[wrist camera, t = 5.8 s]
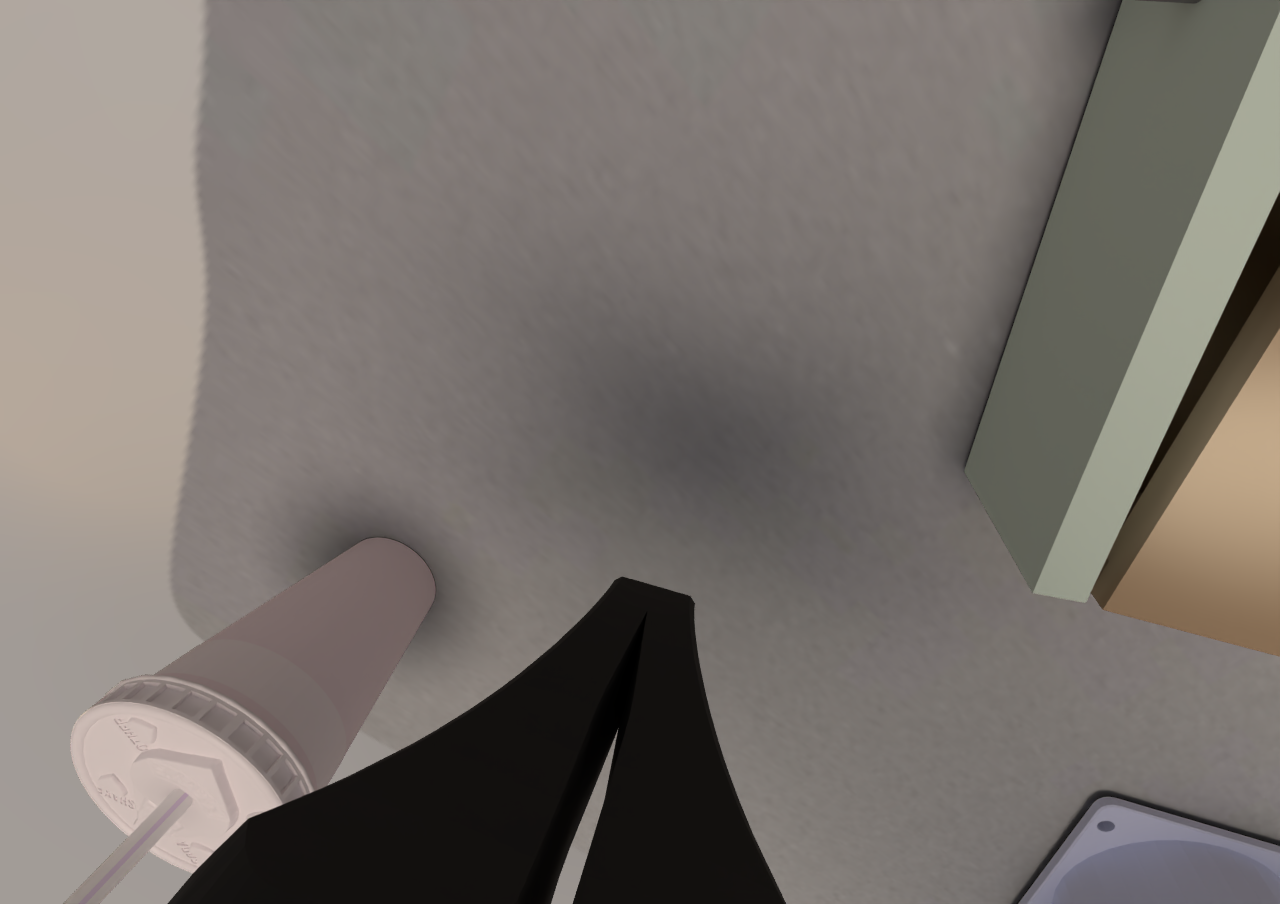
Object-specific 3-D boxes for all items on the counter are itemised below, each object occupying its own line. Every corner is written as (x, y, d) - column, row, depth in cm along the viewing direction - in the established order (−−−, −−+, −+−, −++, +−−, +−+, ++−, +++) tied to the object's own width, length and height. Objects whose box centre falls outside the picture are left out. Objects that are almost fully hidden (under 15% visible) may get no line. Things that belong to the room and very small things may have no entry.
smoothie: (502, 593, 24) (187, 1063, 11) (408, 670, 27) (72, 1119, 14) (370, 472, 23) (-131, 841, 10) (287, 565, 26) (-189, 948, 13)
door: (1001, 477, 18) (1085, 603, 13) (931, 466, 18) (985, 584, 13) (1192, -47, 13) (1455, -183, 8) (1091, -52, 13) (1281, -186, 8)
